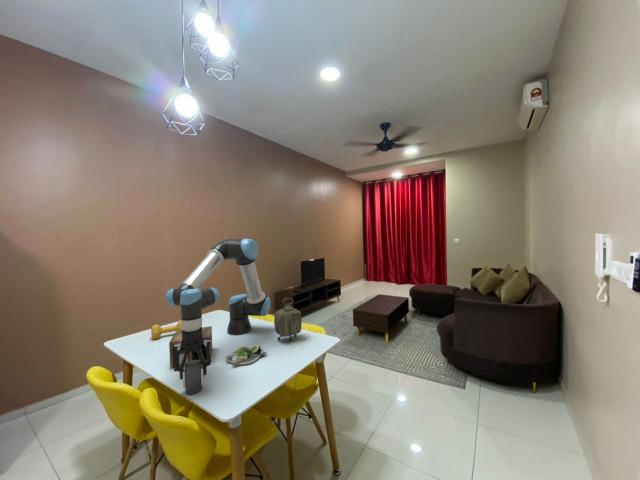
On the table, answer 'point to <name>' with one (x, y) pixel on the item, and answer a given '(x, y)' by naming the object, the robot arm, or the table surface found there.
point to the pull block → (193, 377)
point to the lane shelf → (178, 339)
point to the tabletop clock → (287, 321)
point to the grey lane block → (181, 355)
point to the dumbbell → (163, 330)
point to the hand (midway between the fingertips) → (193, 384)
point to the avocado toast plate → (245, 355)
